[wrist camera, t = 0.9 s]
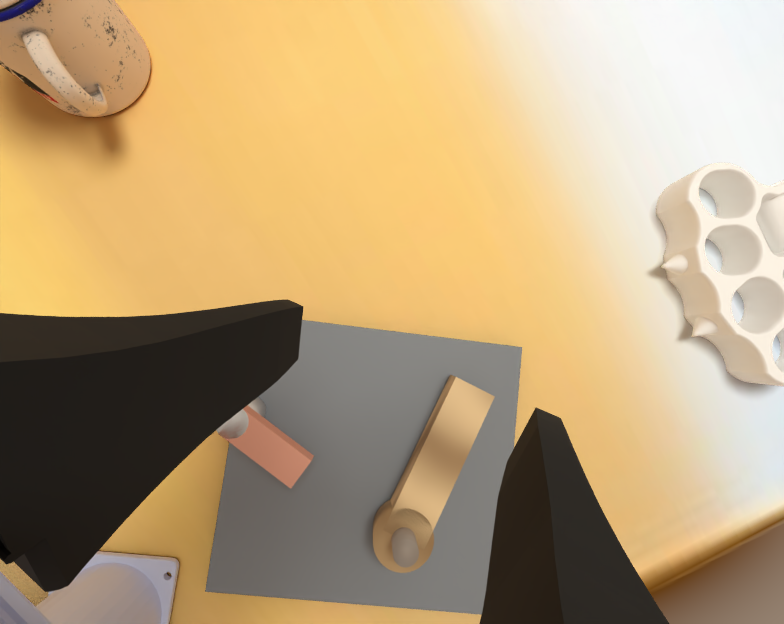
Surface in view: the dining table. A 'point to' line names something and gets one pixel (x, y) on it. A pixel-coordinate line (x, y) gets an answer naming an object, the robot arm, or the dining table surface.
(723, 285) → the white flat holed block
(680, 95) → the dining table surface
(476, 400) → the oak link
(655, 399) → the dining table surface
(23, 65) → the teacup with lid
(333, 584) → the board
